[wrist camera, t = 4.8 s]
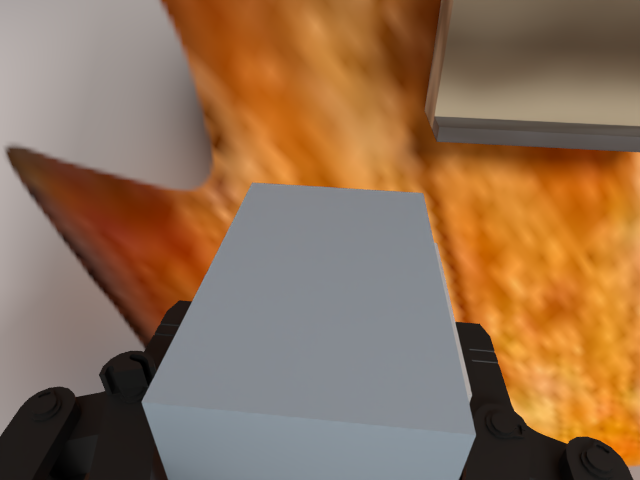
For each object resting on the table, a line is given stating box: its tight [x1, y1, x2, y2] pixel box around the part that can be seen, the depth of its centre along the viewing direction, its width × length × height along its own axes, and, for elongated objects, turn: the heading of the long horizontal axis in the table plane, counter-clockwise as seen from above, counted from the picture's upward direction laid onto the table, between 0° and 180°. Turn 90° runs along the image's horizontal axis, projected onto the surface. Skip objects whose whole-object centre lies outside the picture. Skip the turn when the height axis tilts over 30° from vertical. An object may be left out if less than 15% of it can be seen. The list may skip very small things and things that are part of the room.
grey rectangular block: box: [142, 183, 476, 480], centre depth 13 cm, size 6×6×9 cm
